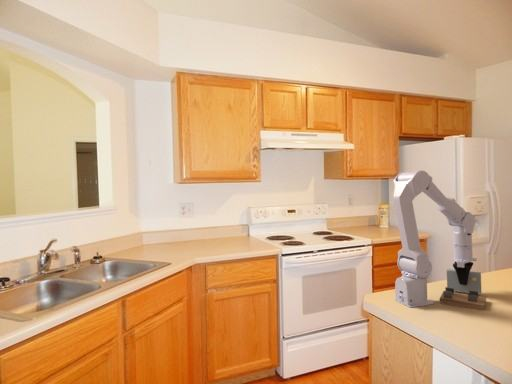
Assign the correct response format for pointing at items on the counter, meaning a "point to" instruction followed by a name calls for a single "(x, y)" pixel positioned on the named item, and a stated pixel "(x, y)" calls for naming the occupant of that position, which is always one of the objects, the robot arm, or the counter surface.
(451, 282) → the grey rectangular block
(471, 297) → the short dark cabinet legs
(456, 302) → the cabinet base
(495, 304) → the counter surface
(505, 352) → the counter surface
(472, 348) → the counter surface
